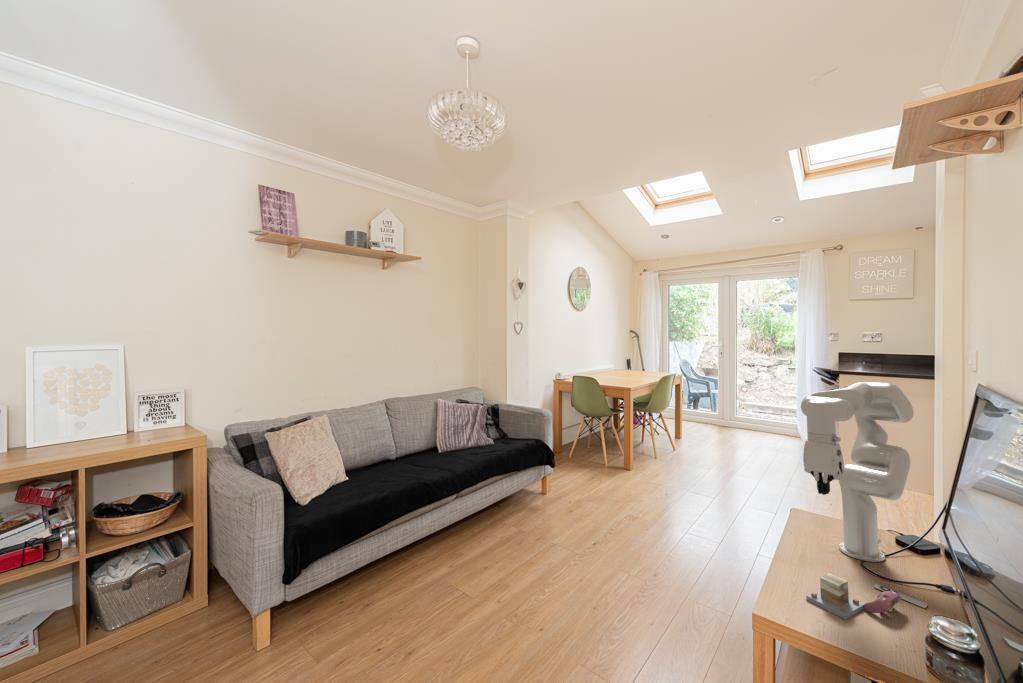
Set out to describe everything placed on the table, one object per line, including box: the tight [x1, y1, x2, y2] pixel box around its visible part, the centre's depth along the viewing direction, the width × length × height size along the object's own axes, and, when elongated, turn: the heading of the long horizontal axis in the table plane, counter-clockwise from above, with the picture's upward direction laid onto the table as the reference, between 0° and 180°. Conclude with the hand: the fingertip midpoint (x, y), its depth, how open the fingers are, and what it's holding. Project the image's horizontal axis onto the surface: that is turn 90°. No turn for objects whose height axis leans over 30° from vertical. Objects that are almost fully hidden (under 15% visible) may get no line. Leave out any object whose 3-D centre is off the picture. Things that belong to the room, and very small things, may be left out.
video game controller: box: [863, 589, 902, 615], centre depth 114 cm, size 10×5×7 cm, turn 117°
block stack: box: [819, 572, 850, 607], centre depth 118 cm, size 5×5×6 cm
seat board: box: [805, 587, 865, 620], centre depth 118 cm, size 10×10×2 cm
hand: (823, 493), depth 132 cm, fingers closed
